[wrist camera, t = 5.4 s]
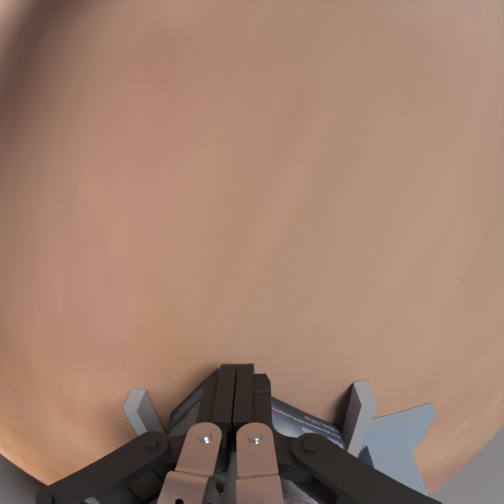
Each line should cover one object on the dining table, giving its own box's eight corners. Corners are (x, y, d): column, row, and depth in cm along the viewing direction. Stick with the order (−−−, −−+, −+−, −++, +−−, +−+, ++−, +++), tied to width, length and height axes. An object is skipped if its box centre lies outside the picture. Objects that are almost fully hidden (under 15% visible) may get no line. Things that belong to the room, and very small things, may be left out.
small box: (346, 423, 16) (378, 548, 6) (285, 461, 18) (292, 569, 8) (220, 361, 15) (190, 546, 5) (168, 412, 16) (129, 544, 6)
